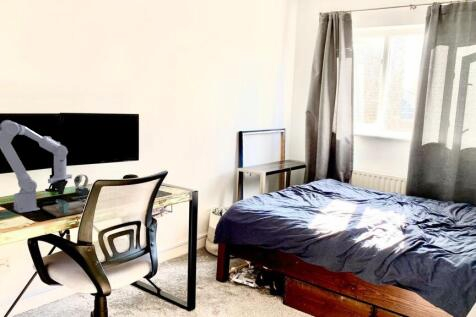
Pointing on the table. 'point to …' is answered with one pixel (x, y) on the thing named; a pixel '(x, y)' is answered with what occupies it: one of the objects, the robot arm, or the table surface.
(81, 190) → the watch
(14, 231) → the table surface
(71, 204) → the latch bar
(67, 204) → the block
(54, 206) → the board
